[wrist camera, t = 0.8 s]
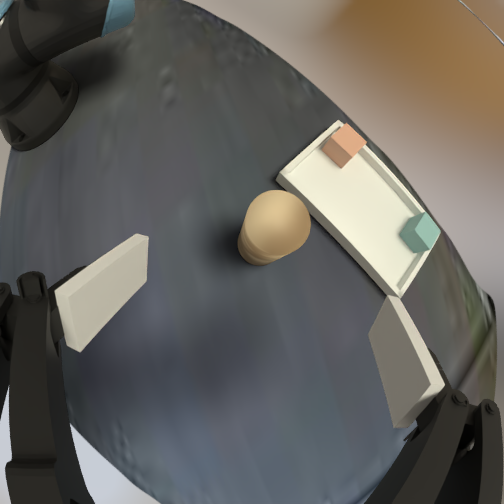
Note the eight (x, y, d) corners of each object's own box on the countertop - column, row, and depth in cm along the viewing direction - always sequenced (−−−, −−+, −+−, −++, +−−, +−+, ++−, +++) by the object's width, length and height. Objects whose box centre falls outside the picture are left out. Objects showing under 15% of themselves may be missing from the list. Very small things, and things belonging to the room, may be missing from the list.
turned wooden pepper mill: (228, 243, 32) (231, 220, 21) (258, 213, 32) (277, 177, 21) (260, 275, 31) (280, 268, 21) (289, 243, 32) (322, 222, 21)
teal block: (398, 234, 33) (414, 229, 30) (410, 217, 34) (425, 211, 30) (414, 253, 33) (430, 250, 30) (424, 235, 34) (440, 231, 30)
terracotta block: (321, 149, 33) (330, 136, 30) (336, 136, 34) (346, 122, 30) (341, 168, 33) (352, 157, 30) (355, 154, 34) (366, 142, 30)
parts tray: (275, 180, 33) (279, 172, 31) (331, 128, 35) (338, 119, 33) (389, 298, 33) (400, 298, 30) (430, 235, 35) (440, 232, 32)
